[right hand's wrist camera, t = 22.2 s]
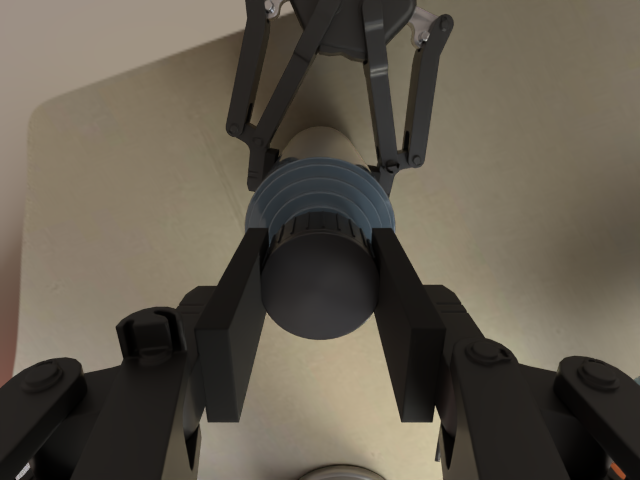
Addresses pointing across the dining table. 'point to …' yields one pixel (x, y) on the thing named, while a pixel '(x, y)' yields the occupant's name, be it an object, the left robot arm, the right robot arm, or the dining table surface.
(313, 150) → the bottle
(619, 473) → the cup with straw
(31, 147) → the dining table surface
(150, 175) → the dining table surface
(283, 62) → the dining table surface
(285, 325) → the cap
